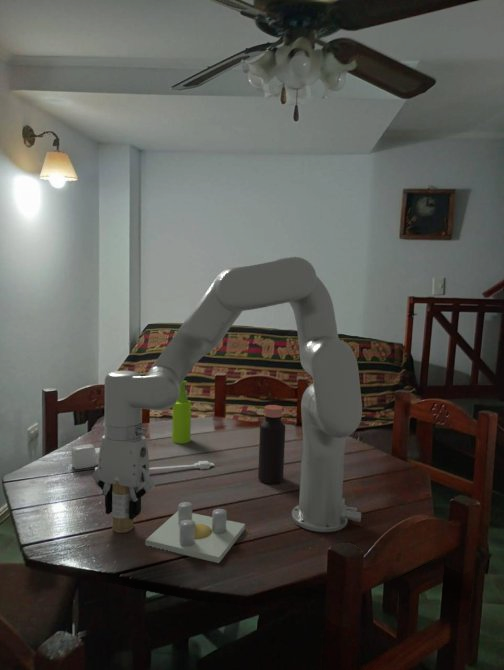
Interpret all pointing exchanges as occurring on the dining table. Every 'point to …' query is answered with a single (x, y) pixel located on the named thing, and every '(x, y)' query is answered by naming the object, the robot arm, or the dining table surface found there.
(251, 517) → the dining table surface
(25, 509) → the dining table surface
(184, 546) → the pin board
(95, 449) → the power adapter
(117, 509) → the sprinkles bottle
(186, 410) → the soap dispenser
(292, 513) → the robot arm
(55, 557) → the dining table surface
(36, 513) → the dining table surface
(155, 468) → the charging cable
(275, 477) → the vinegar
